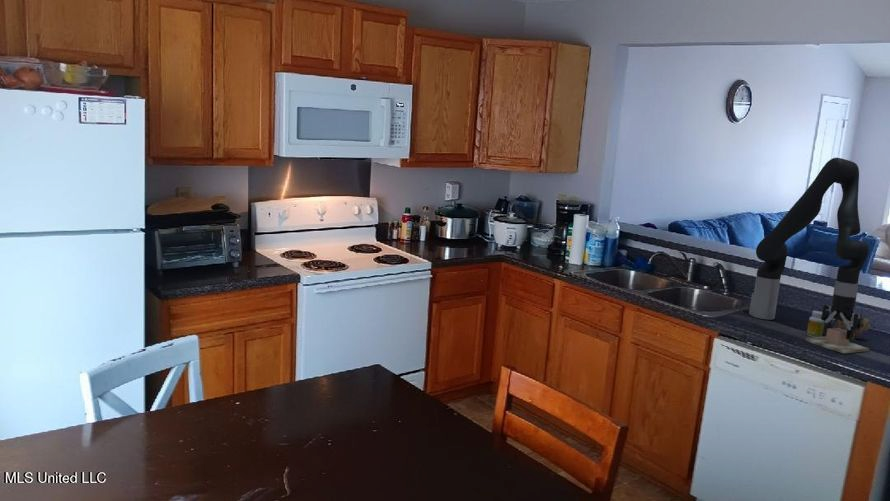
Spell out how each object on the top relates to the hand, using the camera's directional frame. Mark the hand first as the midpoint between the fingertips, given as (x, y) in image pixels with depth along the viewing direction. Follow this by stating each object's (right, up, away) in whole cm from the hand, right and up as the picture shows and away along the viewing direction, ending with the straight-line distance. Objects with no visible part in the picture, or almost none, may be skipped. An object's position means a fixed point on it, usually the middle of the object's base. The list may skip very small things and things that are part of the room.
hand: (838, 336), depth 266 cm
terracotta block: (0, -3, 0) cm, 3 cm away
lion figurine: (+13, -2, +15) cm, 20 cm away
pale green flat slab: (0, -4, +1) cm, 4 cm away
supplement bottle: (-2, -2, +13) cm, 13 cm away
